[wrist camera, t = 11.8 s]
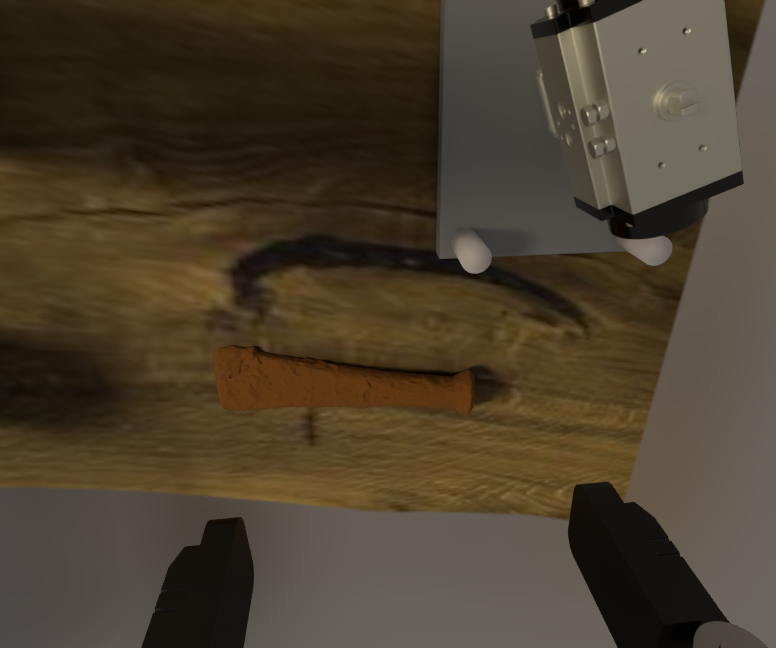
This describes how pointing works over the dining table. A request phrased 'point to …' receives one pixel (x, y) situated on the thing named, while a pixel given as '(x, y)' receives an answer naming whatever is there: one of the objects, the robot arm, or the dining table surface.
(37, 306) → the dining table surface
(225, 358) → the primitive tool
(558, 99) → the pneumatic valve
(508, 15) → the peg board
